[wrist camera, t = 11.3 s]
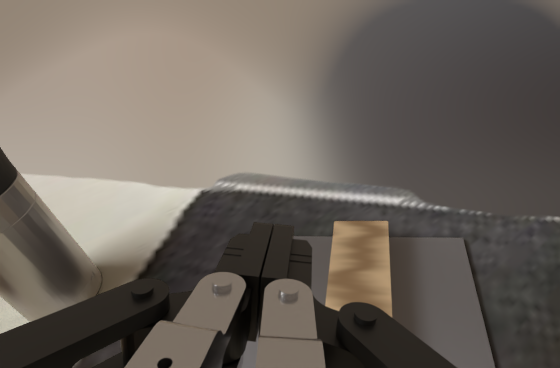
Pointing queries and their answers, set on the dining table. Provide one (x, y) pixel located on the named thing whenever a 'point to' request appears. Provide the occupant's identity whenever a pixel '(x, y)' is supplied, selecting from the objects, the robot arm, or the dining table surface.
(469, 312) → the charcoal placemat
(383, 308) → the oak card block
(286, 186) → the dining table surface
